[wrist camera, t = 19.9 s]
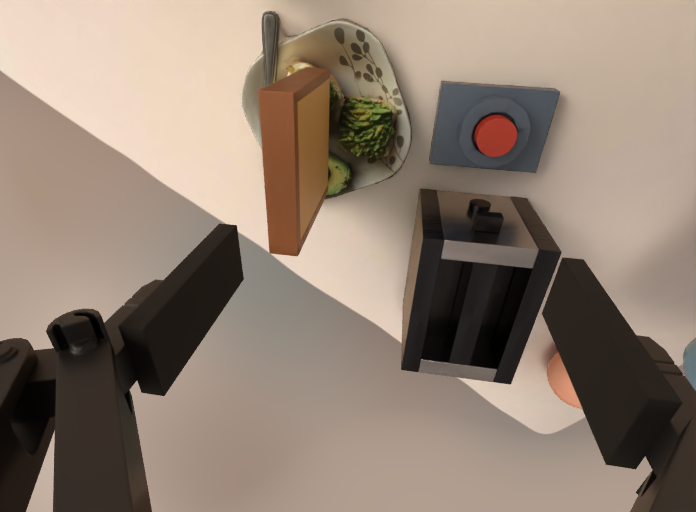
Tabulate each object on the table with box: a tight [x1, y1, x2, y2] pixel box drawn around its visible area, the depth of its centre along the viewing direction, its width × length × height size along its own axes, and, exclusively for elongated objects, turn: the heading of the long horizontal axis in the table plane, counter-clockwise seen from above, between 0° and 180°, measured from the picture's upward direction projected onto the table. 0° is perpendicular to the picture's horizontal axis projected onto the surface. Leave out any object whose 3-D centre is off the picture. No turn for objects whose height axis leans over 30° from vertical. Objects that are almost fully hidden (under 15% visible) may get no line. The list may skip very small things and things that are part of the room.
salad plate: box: [241, 11, 412, 199], centre depth 40 cm, size 19×18×5 cm
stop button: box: [474, 114, 517, 157], centre depth 37 cm, size 4×4×2 cm
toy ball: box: [547, 352, 582, 409], centre depth 52 cm, size 8×8×8 cm
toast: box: [258, 67, 330, 256], centre depth 33 cm, size 2×12×14 cm, turn 178°
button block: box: [429, 81, 560, 173], centre depth 39 cm, size 11×8×4 cm
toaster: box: [401, 189, 561, 384], centre depth 44 cm, size 12×19×12 cm, turn 177°
